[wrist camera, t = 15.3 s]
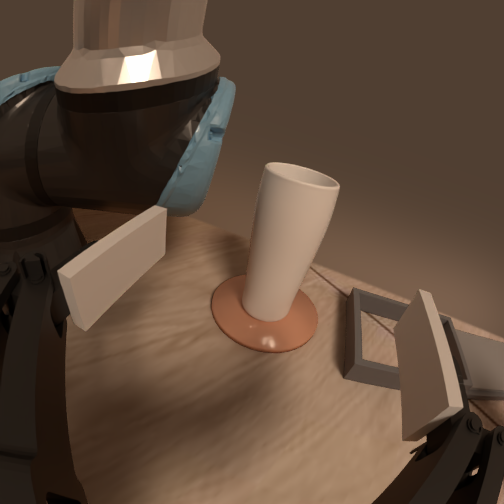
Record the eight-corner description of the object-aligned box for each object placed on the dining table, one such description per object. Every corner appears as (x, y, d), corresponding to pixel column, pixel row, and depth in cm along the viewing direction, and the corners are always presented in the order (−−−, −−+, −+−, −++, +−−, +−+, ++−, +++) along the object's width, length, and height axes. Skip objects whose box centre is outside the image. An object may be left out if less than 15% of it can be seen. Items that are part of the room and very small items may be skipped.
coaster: (193, 327, 26) (193, 323, 26) (232, 267, 36) (233, 263, 36) (309, 367, 24) (311, 363, 24) (320, 295, 34) (321, 292, 34)
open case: (343, 378, 23) (354, 363, 22) (346, 302, 34) (353, 287, 33) (521, 400, 18) (531, 389, 17) (501, 345, 29) (509, 335, 28)
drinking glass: (305, 322, 29) (357, 191, 21) (249, 335, 25) (292, 184, 18) (276, 284, 34) (310, 166, 26) (225, 291, 30) (251, 158, 23)
